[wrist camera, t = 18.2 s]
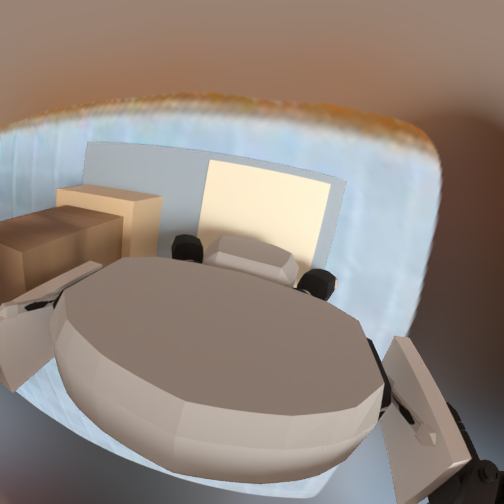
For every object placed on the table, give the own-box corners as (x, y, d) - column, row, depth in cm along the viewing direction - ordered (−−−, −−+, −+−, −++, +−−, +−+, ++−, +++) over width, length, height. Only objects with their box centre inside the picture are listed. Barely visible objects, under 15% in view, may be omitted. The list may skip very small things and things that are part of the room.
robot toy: (167, 271, 20) (15, 404, 5) (176, 212, 19) (-23, 293, 4) (329, 315, 19) (368, 517, 5) (349, 256, 18) (463, 439, 3)
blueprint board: (88, 292, 23) (54, 314, 18) (95, 142, 19) (54, 139, 14) (295, 351, 22) (295, 394, 17) (343, 180, 18) (362, 181, 13)
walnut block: (67, 273, 17) (-12, 320, 9) (66, 204, 15) (-28, 230, 8) (120, 291, 16) (41, 358, 9) (123, 216, 15) (21, 252, 7)
